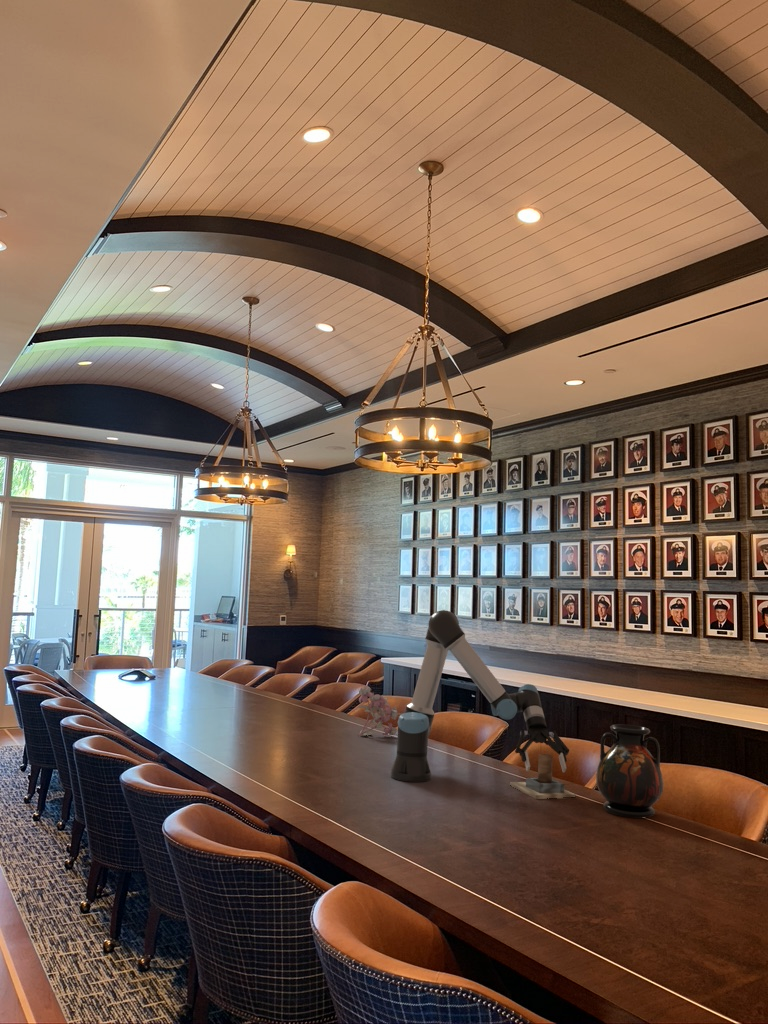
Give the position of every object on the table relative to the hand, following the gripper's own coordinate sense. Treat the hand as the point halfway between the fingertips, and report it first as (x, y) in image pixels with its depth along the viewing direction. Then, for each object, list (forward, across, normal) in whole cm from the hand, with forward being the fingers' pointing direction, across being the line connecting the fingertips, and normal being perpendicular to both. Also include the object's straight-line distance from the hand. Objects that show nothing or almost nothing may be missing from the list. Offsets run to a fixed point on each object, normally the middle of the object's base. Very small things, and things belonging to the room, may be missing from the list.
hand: (546, 769), depth 282 cm
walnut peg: (+5, 0, -6) cm, 7 cm away
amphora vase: (+23, -20, +11) cm, 33 cm away
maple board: (+4, +1, -8) cm, 9 cm away
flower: (-72, +47, -85) cm, 121 cm away
